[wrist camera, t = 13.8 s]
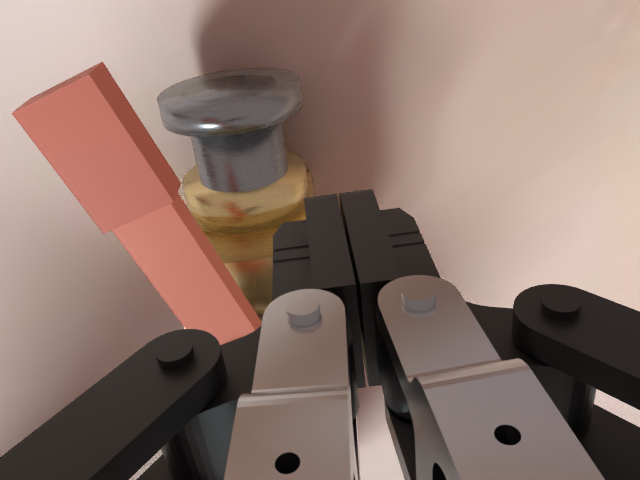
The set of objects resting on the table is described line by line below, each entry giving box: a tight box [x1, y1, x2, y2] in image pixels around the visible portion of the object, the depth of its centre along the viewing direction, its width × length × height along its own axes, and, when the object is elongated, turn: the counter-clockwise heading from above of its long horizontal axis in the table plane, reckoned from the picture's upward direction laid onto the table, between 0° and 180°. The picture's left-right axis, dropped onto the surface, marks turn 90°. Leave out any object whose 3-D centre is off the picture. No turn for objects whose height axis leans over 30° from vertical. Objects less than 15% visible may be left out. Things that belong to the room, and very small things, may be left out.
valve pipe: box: [157, 68, 314, 329], centre depth 28 cm, size 18×6×9 cm, turn 6°
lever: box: [12, 62, 263, 345], centre depth 20 cm, size 14×4×2 cm, turn 24°
